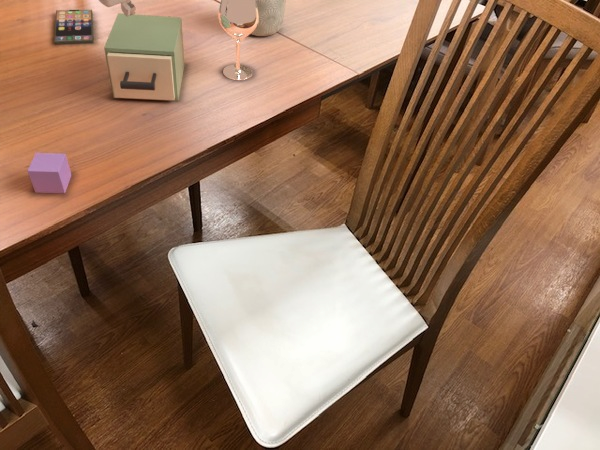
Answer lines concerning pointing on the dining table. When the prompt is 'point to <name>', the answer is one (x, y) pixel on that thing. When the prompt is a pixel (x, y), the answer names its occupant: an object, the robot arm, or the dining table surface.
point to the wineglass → (238, 30)
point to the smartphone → (73, 27)
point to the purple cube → (49, 173)
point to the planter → (269, 17)
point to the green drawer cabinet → (149, 41)
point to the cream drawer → (141, 76)
